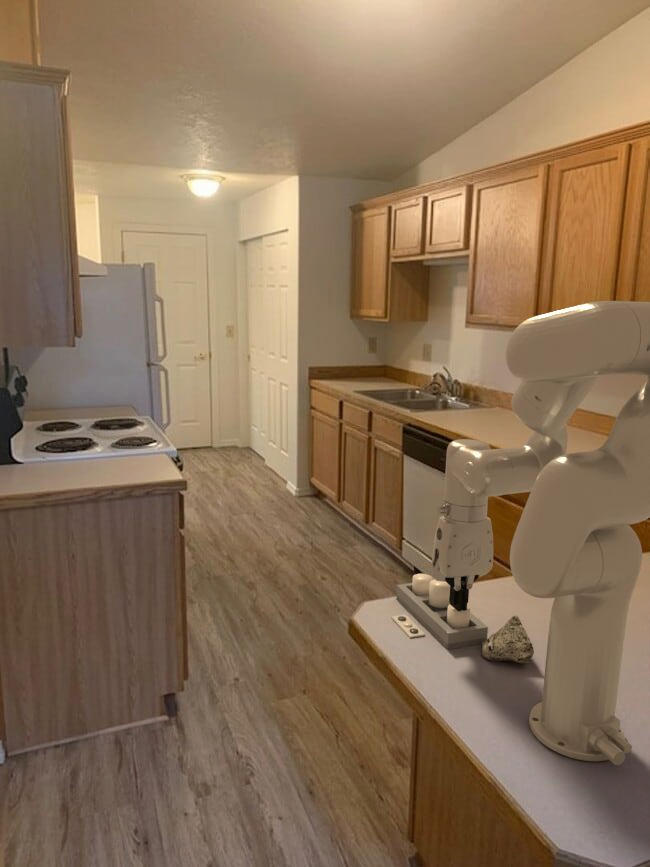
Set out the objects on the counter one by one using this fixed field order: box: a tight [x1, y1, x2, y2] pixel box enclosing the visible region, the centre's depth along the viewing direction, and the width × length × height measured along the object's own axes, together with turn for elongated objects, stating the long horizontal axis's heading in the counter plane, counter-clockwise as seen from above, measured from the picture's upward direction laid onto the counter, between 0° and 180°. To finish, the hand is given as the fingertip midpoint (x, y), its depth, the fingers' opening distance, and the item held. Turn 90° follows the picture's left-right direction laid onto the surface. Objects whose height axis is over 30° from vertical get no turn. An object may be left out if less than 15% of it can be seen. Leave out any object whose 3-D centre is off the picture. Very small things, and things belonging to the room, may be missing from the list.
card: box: [391, 614, 426, 639], centre depth 121 cm, size 8×3×1 cm, turn 19°
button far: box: [411, 573, 434, 596], centre depth 130 cm, size 4×4×4 cm
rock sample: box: [481, 615, 535, 665], centre depth 111 cm, size 10×8×9 cm
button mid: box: [429, 578, 450, 608], centre depth 123 cm, size 4×4×4 cm
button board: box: [395, 582, 489, 650], centre depth 124 cm, size 21×8×3 cm, turn 19°
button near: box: [447, 605, 471, 630], centre depth 117 cm, size 4×4×4 cm
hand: (458, 607), depth 117 cm, fingers closed
